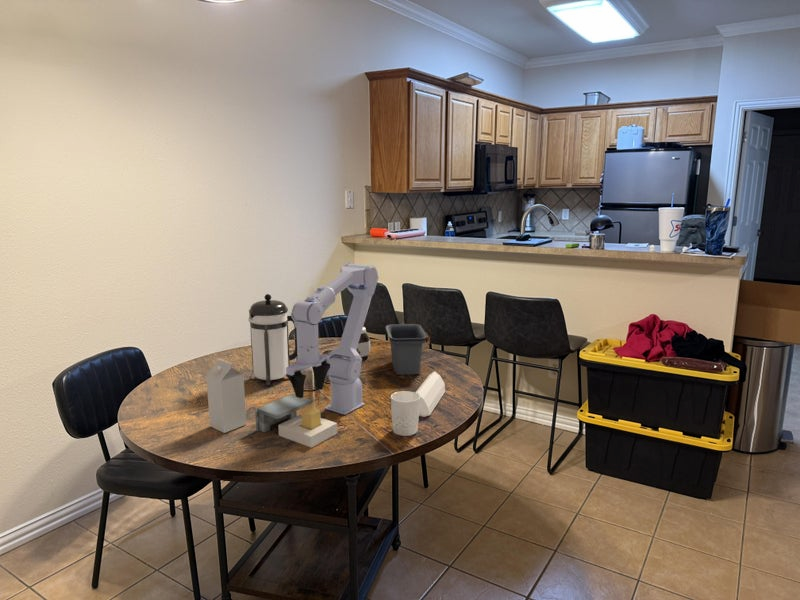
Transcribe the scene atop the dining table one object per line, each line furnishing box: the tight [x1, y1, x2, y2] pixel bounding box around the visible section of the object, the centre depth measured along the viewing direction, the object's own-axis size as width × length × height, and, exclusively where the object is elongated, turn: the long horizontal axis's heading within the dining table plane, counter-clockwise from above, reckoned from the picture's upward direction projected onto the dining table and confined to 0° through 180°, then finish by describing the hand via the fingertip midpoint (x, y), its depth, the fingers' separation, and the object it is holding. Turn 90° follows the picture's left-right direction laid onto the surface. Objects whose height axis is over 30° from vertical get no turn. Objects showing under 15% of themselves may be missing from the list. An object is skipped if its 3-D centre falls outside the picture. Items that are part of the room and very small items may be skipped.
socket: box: [278, 413, 338, 448], centre depth 145 cm, size 10×12×3 cm
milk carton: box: [205, 357, 247, 434], centre depth 148 cm, size 7×7×19 cm
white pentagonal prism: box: [415, 370, 446, 418], centre depth 166 cm, size 7×7×24 cm
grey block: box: [254, 393, 313, 433], centre depth 150 cm, size 13×9×7 cm
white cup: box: [390, 390, 420, 437], centre depth 147 cm, size 8×8×10 cm
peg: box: [301, 407, 322, 430], centre depth 144 cm, size 4×4×7 cm
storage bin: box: [385, 323, 431, 376], centre depth 198 cm, size 21×16×14 cm
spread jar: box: [345, 326, 371, 360], centre depth 209 cm, size 12×11×12 cm
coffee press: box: [248, 293, 298, 387], centre depth 185 cm, size 17×16×30 cm
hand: (309, 392), depth 148 cm, fingers open, 7 cm apart
